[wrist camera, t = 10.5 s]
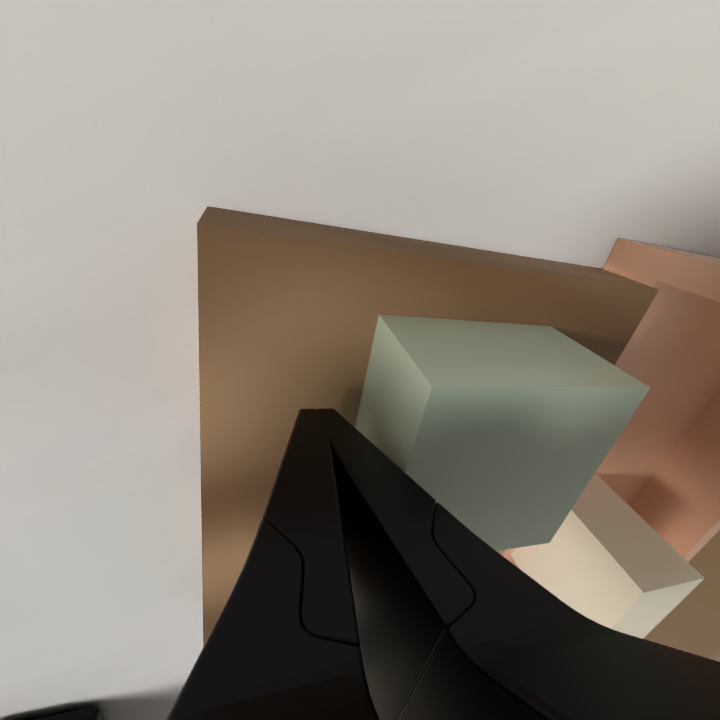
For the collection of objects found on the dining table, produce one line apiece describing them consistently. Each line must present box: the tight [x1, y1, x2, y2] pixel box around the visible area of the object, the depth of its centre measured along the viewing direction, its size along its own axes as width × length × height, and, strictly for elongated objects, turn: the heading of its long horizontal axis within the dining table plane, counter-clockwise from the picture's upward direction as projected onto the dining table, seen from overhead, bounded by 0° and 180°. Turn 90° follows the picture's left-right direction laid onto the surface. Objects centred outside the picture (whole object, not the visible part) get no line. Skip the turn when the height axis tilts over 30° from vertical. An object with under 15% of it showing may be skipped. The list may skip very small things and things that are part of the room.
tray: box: [502, 238, 720, 567], centre depth 16 cm, size 18×10×4 cm, turn 169°
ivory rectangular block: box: [511, 474, 704, 639], centre depth 16 cm, size 5×5×3 cm
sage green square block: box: [355, 315, 650, 551], centre depth 9 cm, size 5×5×3 cm
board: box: [197, 207, 659, 645], centre depth 13 cm, size 16×12×2 cm
